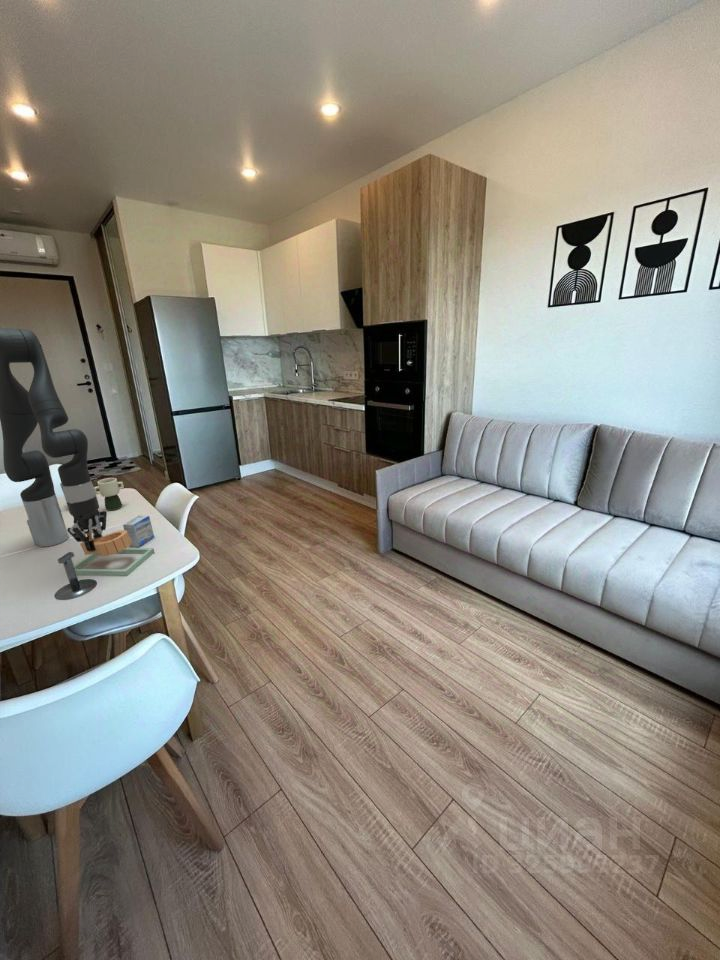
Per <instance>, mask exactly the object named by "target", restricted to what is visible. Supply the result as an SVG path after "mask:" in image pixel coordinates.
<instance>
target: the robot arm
mask: <svg viewBox="0 0 720 960" xmlns="http://www.w3.org/2000/svg"><path fill="white" fill-rule="evenodd" d="M13 363H16V364H17V363H18V364H19V363H22V364H25V363H30V364H31V365H32V368H33V377H32V381H31V383H30V386H29V390H27V389H26V388H25V387H24V386H23V385H22V384H21V383H20V382H19V381H18V379H17V378H16V377H15V376H14V375H13V373H12V370H11V368H10V365H11V364H13ZM68 422H69V417H68V414H67V411H66V410H65V408H64V406H63V404H62V402H61V400H60V398H59V395H58V392H57V391H56V388H55V385H54V381H53V378H52V375H51V372H50V369H49V365H48V362H47V359H46V356H45V353H44V349H43V346H42V344H41V342H40V340H39V338H38V337H37V335H36V333H34V331H32V330H30V329H24V328H5V327H0V427H1V431H2V432H1V433H2V441H3V442H2V443H3V445H2V447H3V448H2V449H3V451H2V453H3V455H2V456H3V459H2V460H3V468H4V472H5V474H6V477H7V478H8V479H9V480H10V481H11V482H13V483H21V482H26V481H30V480H34V481H33V482H32V483H31V484H30V485H29V486H28V487H26V488H24V489H23V490H21V492H20V498H21V501H22V504H23V507H24V510H25V512H26V516H27V518H28V519H27V520H26V523H27V526H28V529H29V532H30V536H31V538H32V540H33V544H34V545H36V546H38V547H39V548H41V547H42V548H44V547H51V546H55V545H58V544H61V543H63V542H66V541H67V540H68V539H69V534H70V536H71V537H72V538H73V539H74V540H75V541H76V542H78V543H82V542H84V543H85V546H86V550H87V551H89V552H93V551H95V550H96V549H95V546H94V542H93V540H92V538H99V537H103V531H105V530H106V529H107V517H108V513H107V511H106V510H99V509H100V504H99V501H98V497H97V494H96V493H95V489H94V487H95V486H94V484H93V483H92V479H91V475H90V472H89V468H88V451H89V449H88V448H89V447H88V445H89V441H88V437H87V435H86V434H85V433H84V431H82V430H80V429H78V428H77V429H76V428H73V429H66V430H61V431H54V429H56V428H60V427H61V426H64V425H66V424H67V423H68ZM37 426H38V427H39V430H40V440H41V448H42V451H43V452H44V453H43V452H42V451H40V450H31V451H25V452H23V448H24V446H25V444H26V442H27V441H28V439H29V438H30V436H32V434H33V433H34V432H35V430H36V427H37ZM45 455H47V456H48V457H50V458H54V459H58V458H62V457H68V456H72V455H73V457H72V459H70V460H69V461H67V462H65V463H63V464H61V465H59V466H58V468H57V472H58V473H57V474H58V475H59V479H60V483H62V486H63V491H62V493H63V496H64V500H65V503H66V506H67V510H68V512H69V514H70V515H71V516H72V517H73V525H72V526H71V527H68V528H66V527H67V526H66V524H65V521H64V517H63V514H62V511H61V508H60V504H59V502H58V498H57V495H56V492H55V491H56V490H55V486H54V485H55V484H54V481H53V478H52V474H51V470H50V465H49V462H48V459H47V458H46V457H47V456H45ZM92 534H93V535H92Z"/></svg>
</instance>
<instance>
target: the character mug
mask: <svg viewBox="0 0 720 960" xmlns="http://www.w3.org/2000/svg"><path fill="white" fill-rule="evenodd" d="M119 485H120V486H119ZM94 489H95V493H96V495H99V494H100V496H101V497H104V509H105V510H107V511H108V510H110V511H112V510H118V509H120V508H121V507H122V506H123V504H122V501H121V499H120V497H119V495H118V494H119V493H120V490H124V489H125V486H124V482H123V481H118V479H117V478H116V477H108V478H103V479H99V480H98V481H97V486H94ZM97 490H98V491H97Z"/></svg>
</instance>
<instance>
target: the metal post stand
mask: <svg viewBox="0 0 720 960" xmlns="http://www.w3.org/2000/svg"><path fill="white" fill-rule="evenodd" d="M74 557H75V553H74V552H73V551H69V552H67V553H65V554H64V555H63V556H61V557H59V558H58V559H57V561H58V564H63V567H64V571H65V573H66V576H67V581H68V583H67V584H65V585H63V586H62V587H61V588H59V589H58V590H56V592H55V593H54V599H56V600H58V601H70V600H73V599H78V598H80V597H83V596H84V595H87V594H88V593H90V592H91V591H93V590H94V589H95V588H96V587H97V585H98V582H97V580H95V579H93V578H92V579H91V578H86V579H78V575H76V572H75V569H74V562H73V559H72V558H74Z"/></svg>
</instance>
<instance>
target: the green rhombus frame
mask: <svg viewBox="0 0 720 960" xmlns="http://www.w3.org/2000/svg"><path fill="white" fill-rule="evenodd" d="M117 554H121V555H122V554H124V555H125V554H129V555H130V554H133V555H134V554H137V555H138V554H139V555H141V556H139V557H138V558H137V559H136V560H135V561H133V562H132V563H131V564H129V566H127V567H126V568H125V569H117V568H114V569H110V568H109V569H108V568H104V569H103V568H102V569H101V568H83V567H84V566H86V565H87V564H89V563H90V562H92V561H93V560H94V559H96V558H97V557H99V554H98V553H96V554H90V555H86V556H85V557H84V558H83V559H81V560H79V562H76V563H75V564H73V566H74V569H75V572H76V575H77V576H101V577H103V576H104V577H105V576H107V577H109V576H110V577H113V576H114V577H128V576H129V575H131V573H132V572H134V571H135V570H136V569H137V568H138V567H140V565H142V564H143V563H144V562H145V561H146V560H148V559H149V558H150V557H151V556H152V555H155V554H156V552H155V549H154V548H153V547H127V548H125V549H124V550H122V551H120V552H118V553H117Z"/></svg>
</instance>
